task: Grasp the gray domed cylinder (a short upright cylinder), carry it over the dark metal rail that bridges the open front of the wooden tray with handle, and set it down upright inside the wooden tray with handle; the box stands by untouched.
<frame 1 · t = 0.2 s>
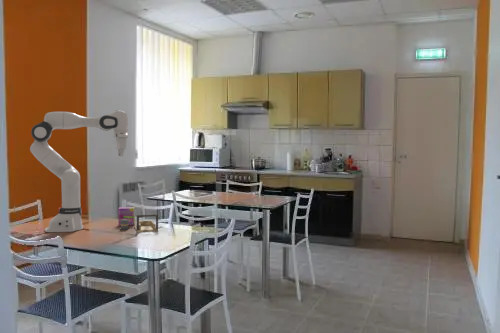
hand: (120, 156, 289), 47 cm above the table, fingers open, 8 cm apart
gray domed cylinder: (124, 229, 283), on the table
wooden tray with handle: (145, 229, 283), on the table
box: (126, 225, 298), on the table
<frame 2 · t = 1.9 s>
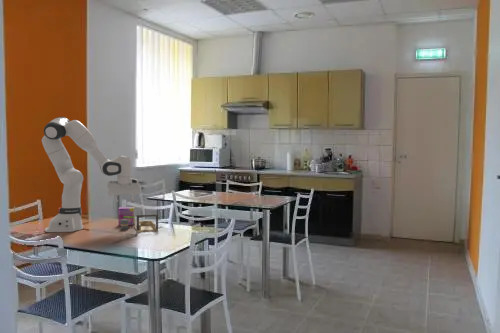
hand: (124, 201, 282), 18 cm above the table, fingers open, 8 cm apart
nothing on the table moved.
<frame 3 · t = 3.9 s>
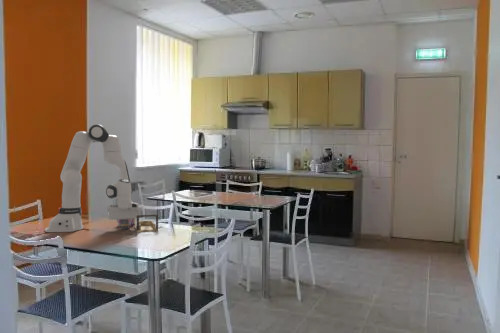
hand: (124, 225, 283), 2 cm above the table, fingers closed on gray domed cylinder, 5 cm apart
gray domed cylinder: (124, 229, 283), on the table, touching gripper
everything else where it was.
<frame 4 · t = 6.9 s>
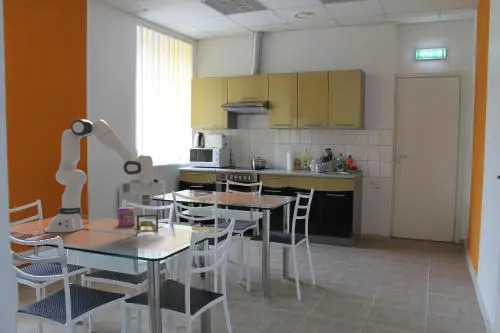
hand: (145, 201, 282), 18 cm above the table, fingers closed on gray domed cylinder, 5 cm apart
gray domed cylinder: (145, 204, 282), point 16 cm above the table, touching gripper
everything else where it was.
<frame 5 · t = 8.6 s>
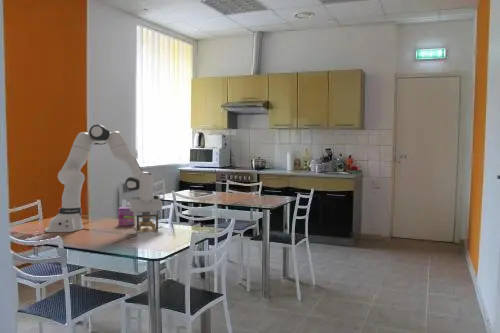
hand: (146, 217, 283), 7 cm above the table, fingers closed on gray domed cylinder, 5 cm apart
gray domed cylinder: (146, 221, 283), point 5 cm above the table, touching gripper
everything else where it was.
when the fingers open (5 cm above the table, at t = 10.0 s): gray domed cylinder drops 2 cm, resting on wooden tray with handle.
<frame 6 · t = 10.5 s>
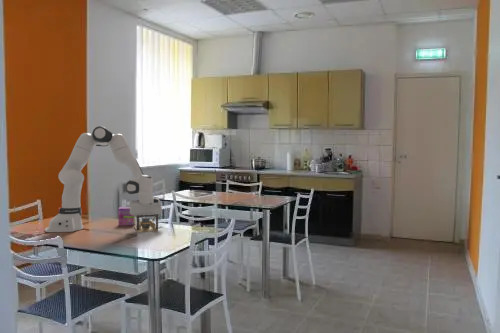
hand: (145, 221, 283), 5 cm above the table, fingers open, 8 cm apart
gray domed cylinder: (145, 227, 283), point 1 cm above the table, touching wooden tray with handle
everything else where it was.
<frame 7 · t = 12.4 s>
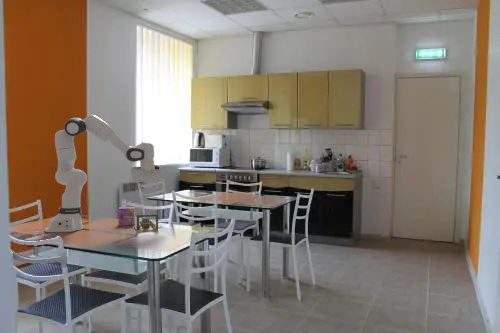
hand: (147, 187, 288), 26 cm above the table, fingers open, 8 cm apart
nothing on the table moved.
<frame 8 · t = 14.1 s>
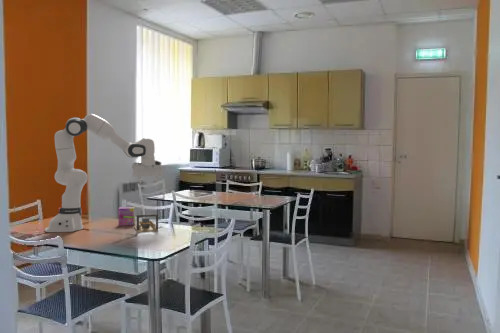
hand: (147, 182, 294), 29 cm above the table, fingers open, 8 cm apart
nothing on the table moved.
at the end: gray domed cylinder 0.1 cm from the wooden tray with handle (horizontally); gray domed cylinder tilted 1°; the gripper is holding nothing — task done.
